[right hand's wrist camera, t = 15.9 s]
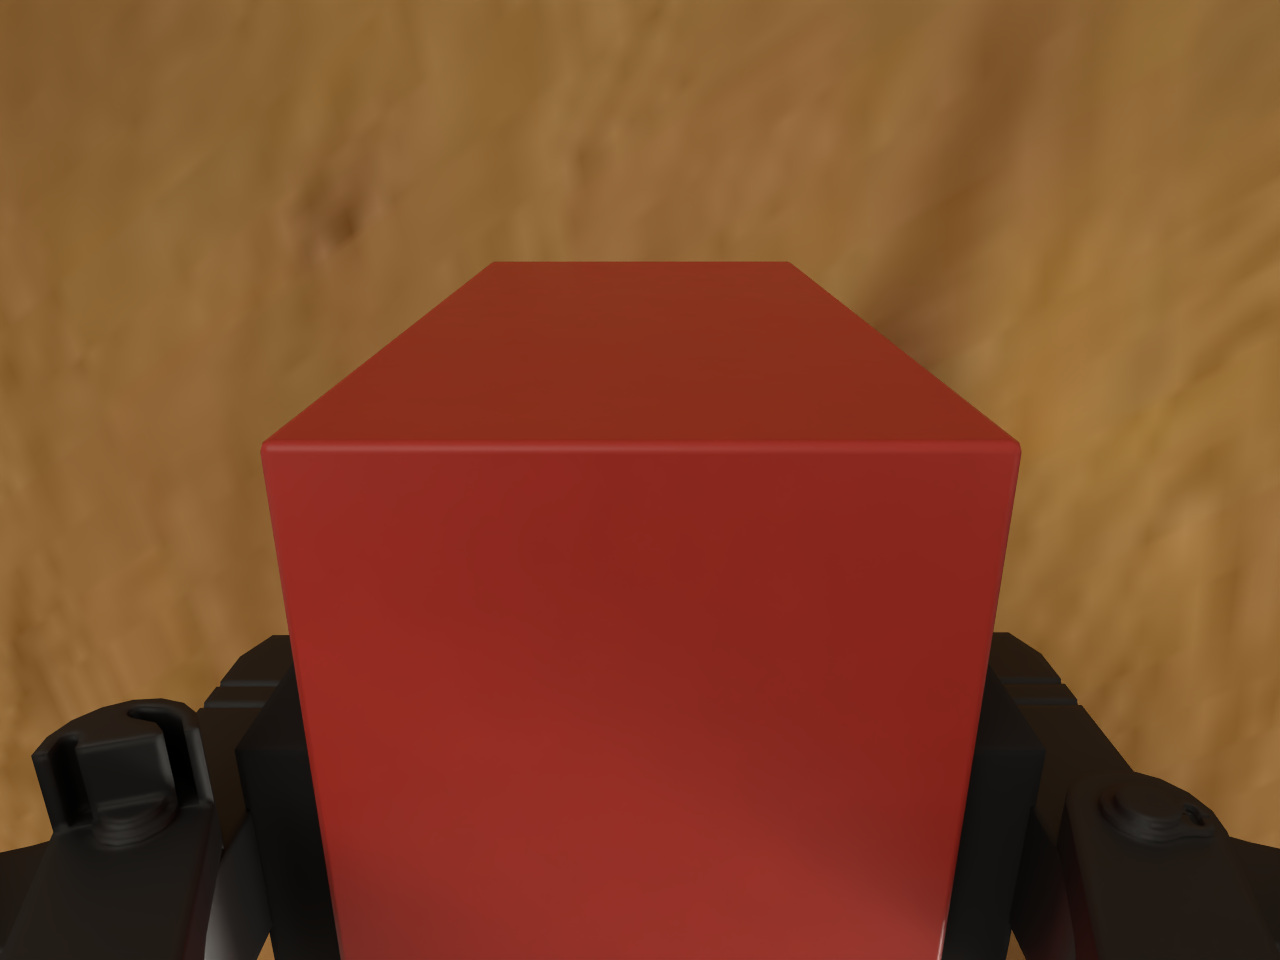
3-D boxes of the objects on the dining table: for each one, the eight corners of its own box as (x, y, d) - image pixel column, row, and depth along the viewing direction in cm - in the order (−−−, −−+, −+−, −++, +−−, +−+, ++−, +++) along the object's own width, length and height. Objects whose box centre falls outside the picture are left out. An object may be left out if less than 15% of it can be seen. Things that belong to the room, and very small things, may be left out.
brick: (490, 261, 17) (254, 442, 7) (791, 260, 17) (1029, 442, 7) (512, 651, 20) (374, 1198, 10) (769, 651, 20) (906, 1198, 10)
